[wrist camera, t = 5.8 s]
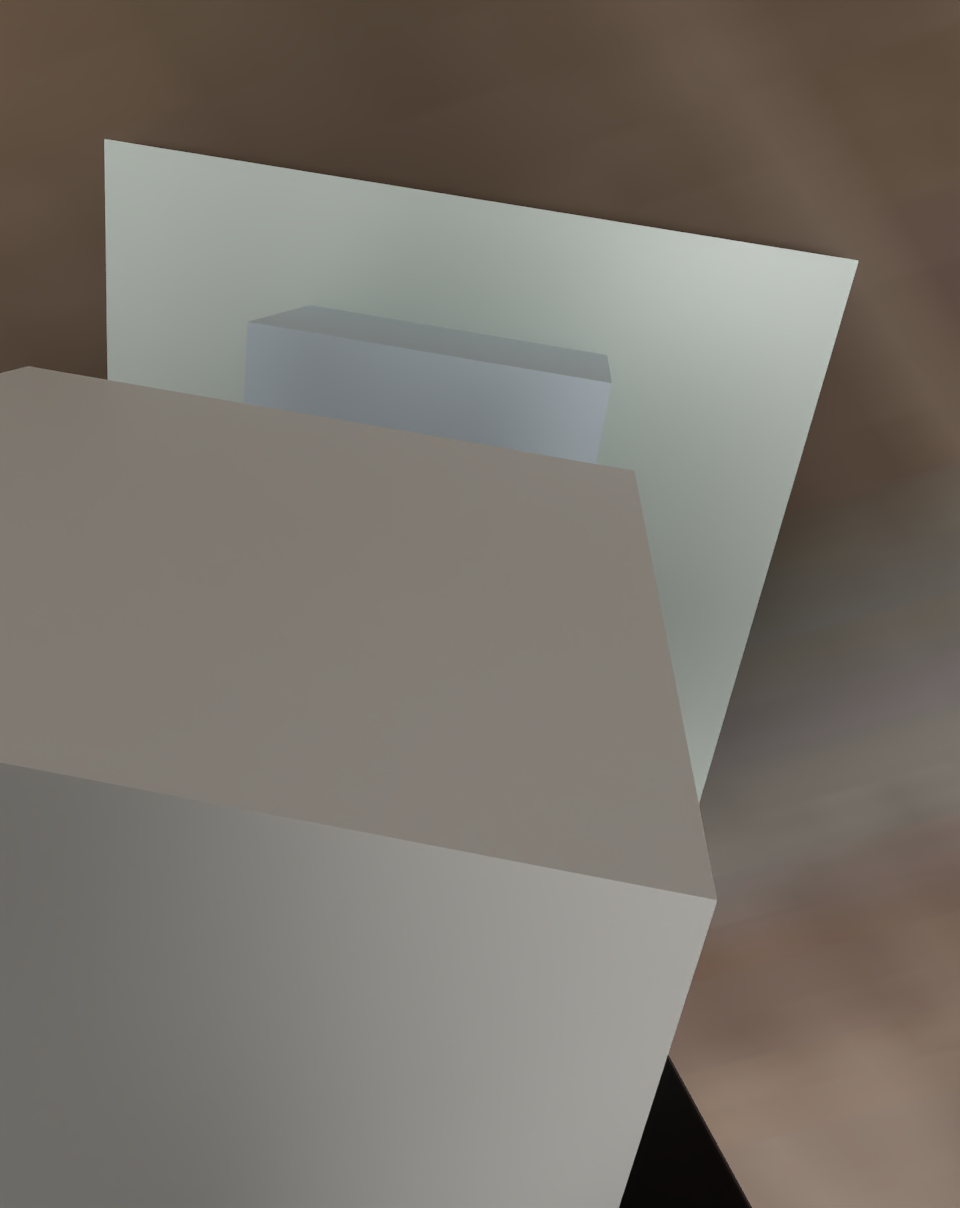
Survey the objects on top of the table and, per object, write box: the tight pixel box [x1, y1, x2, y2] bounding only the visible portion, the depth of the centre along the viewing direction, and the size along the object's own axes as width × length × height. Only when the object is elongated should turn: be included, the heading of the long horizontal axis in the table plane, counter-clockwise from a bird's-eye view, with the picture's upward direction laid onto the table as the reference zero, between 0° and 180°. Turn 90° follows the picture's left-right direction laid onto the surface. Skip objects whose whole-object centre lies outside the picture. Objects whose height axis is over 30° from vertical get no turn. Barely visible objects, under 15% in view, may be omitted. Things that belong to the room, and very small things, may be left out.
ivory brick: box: [0, 366, 717, 1208], centre depth 7 cm, size 5×8×5 cm, turn 171°
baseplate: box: [104, 139, 858, 803], centre depth 16 cm, size 12×12×4 cm
